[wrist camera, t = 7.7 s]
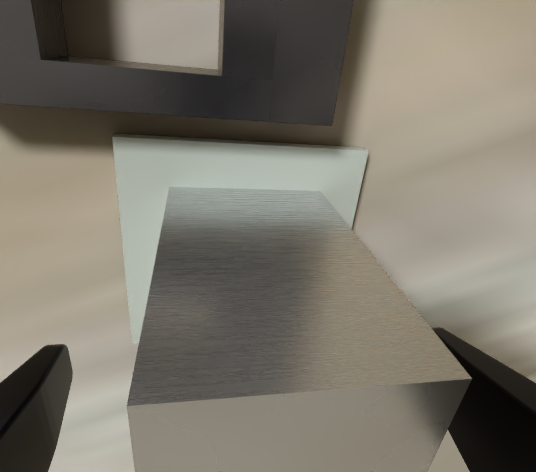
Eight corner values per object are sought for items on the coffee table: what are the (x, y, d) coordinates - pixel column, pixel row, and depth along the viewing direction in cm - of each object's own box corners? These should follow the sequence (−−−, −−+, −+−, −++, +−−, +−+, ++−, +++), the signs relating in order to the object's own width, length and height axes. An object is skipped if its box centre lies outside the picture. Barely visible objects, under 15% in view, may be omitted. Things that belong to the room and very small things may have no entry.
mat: (364, 147, 13) (368, 150, 12) (325, 328, 16) (328, 335, 16) (114, 133, 11) (111, 136, 11) (133, 337, 15) (132, 344, 14)
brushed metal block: (320, 190, 13) (471, 378, 6) (300, 307, 15) (392, 544, 8) (169, 186, 12) (127, 405, 5) (173, 312, 14) (148, 584, 7)
